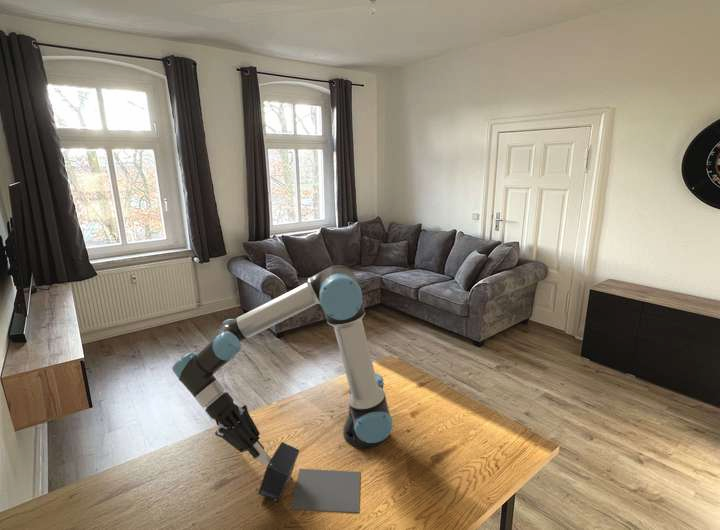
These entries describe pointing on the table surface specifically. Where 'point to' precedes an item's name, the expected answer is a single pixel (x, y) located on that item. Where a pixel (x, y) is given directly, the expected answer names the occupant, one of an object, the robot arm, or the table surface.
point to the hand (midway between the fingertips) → (267, 462)
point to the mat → (327, 491)
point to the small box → (278, 472)
